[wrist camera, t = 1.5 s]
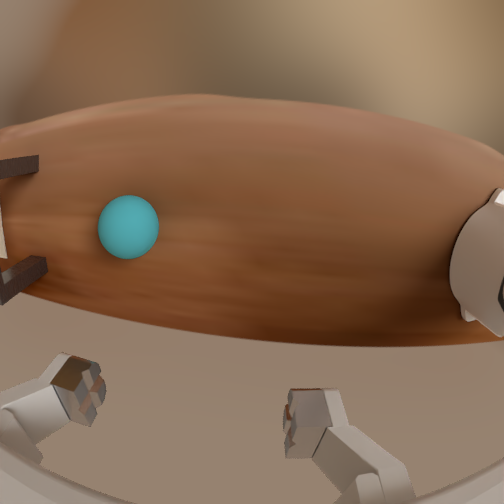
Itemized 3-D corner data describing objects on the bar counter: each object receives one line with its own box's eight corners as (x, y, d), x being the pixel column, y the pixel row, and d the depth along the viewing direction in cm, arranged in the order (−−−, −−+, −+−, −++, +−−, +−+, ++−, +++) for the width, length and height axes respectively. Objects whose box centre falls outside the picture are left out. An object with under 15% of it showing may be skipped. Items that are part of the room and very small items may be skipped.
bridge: (38, 155, 26) (-19, 163, 16) (48, 271, 30) (2, 305, 21) (23, 157, 26) (-32, 166, 16) (33, 269, 30) (-12, 300, 21)
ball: (167, 191, 27) (145, 202, 22) (166, 249, 29) (147, 272, 24) (114, 190, 27) (84, 200, 21) (116, 245, 29) (89, 265, 23)
